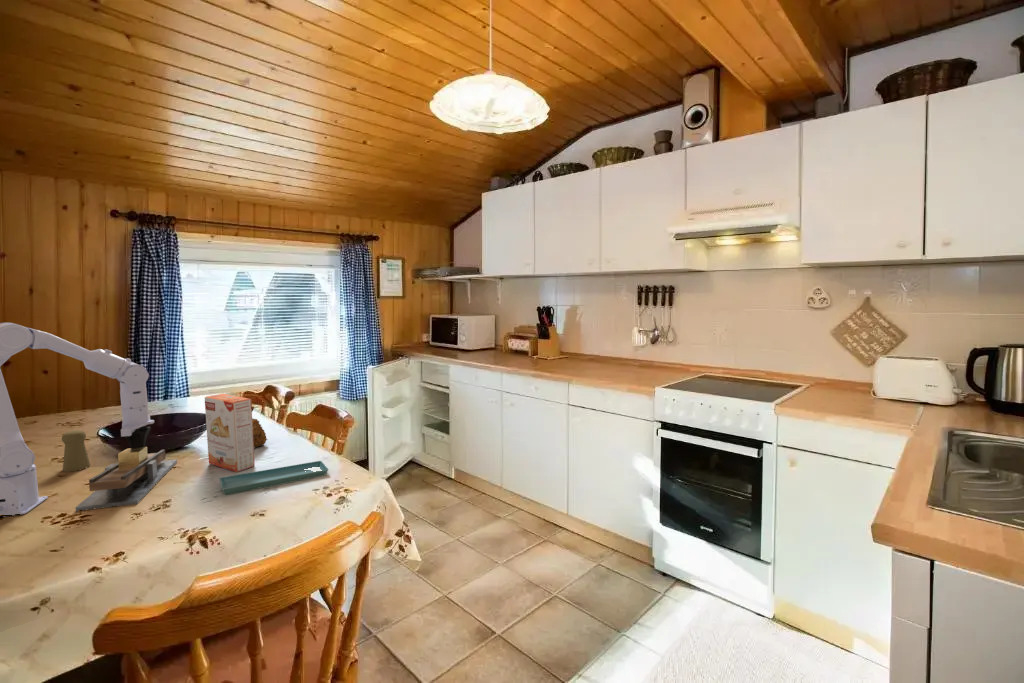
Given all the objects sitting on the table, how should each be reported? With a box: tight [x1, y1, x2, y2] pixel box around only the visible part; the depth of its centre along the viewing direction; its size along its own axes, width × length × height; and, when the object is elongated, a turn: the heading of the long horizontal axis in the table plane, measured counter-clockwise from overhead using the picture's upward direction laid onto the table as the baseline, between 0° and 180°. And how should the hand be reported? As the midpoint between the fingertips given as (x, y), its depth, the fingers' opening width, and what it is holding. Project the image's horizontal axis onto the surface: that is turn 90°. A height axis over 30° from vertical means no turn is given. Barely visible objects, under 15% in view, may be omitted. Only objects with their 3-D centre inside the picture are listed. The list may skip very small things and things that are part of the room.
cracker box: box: [204, 393, 255, 473], centre depth 141 cm, size 14×6×21 cm, turn 62°
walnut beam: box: [88, 449, 166, 492], centre depth 128 cm, size 28×7×3 cm, turn 20°
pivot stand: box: [75, 459, 178, 512], centre depth 128 cm, size 30×12×6 cm, turn 20°
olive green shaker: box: [61, 430, 91, 473], centre depth 139 cm, size 6×6×11 cm
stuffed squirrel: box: [252, 405, 268, 448], centre depth 160 cm, size 10×14×13 cm
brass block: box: [117, 446, 148, 469], centre depth 129 cm, size 6×4×4 cm
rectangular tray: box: [219, 460, 329, 496], centre depth 132 cm, size 26×9×2 cm, turn 125°
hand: (138, 454), depth 132 cm, fingers closed
